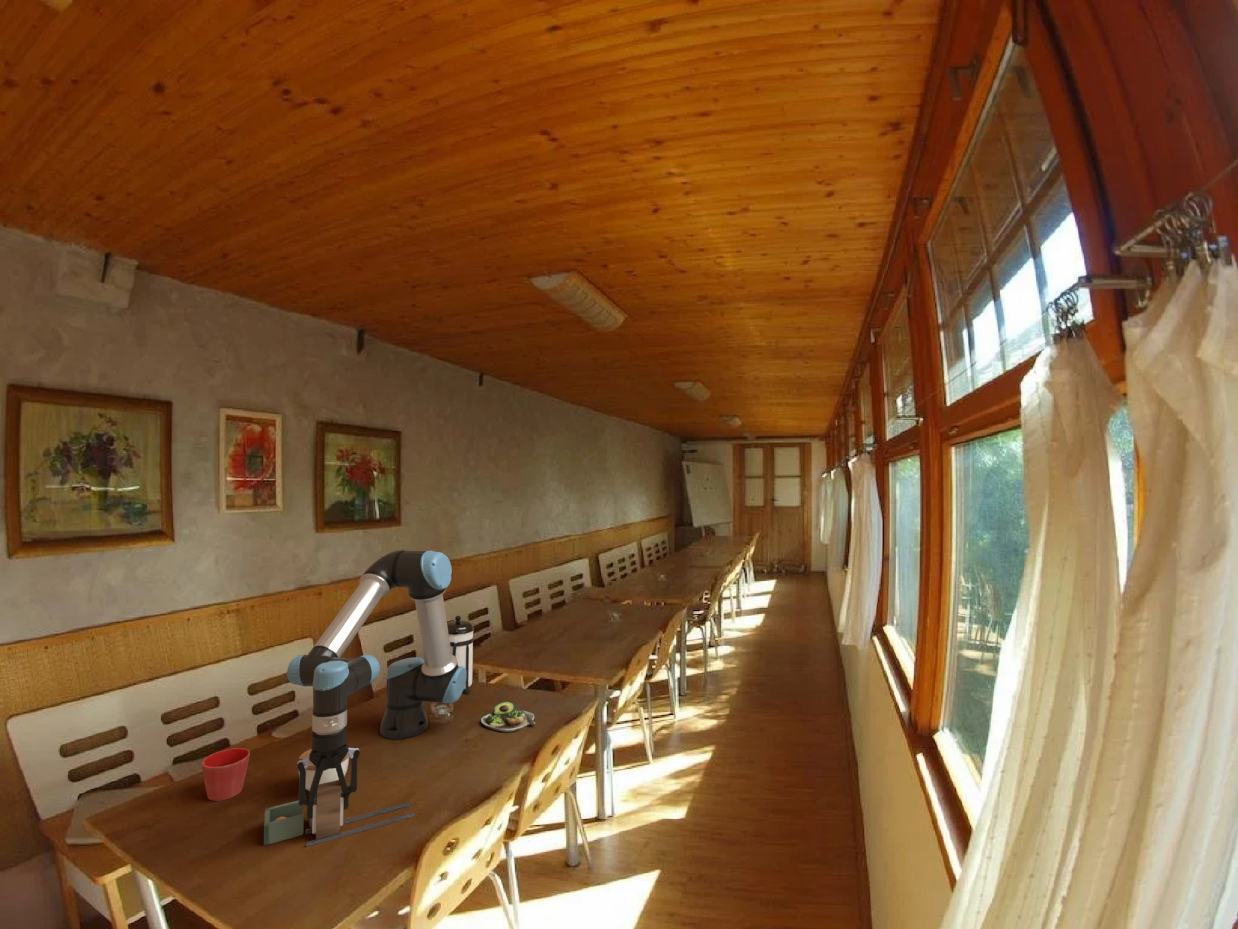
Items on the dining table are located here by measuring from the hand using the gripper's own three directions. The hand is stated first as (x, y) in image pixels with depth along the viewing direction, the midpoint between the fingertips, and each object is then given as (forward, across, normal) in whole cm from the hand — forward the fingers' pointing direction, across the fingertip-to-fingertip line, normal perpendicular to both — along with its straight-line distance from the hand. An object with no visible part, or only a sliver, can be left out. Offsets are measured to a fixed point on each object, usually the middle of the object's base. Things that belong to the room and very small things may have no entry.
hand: (327, 826), depth 136 cm
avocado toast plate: (+2, +59, +40) cm, 71 cm away
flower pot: (+2, -22, +34) cm, 40 cm away
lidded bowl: (+2, 0, +24) cm, 24 cm away
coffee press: (+2, +52, +76) cm, 92 cm away
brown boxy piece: (+1, -1, +3) cm, 3 cm away
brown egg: (+2, -10, +6) cm, 12 cm away
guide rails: (+2, +8, 0) cm, 8 cm away
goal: (+2, -9, +6) cm, 11 cm away
